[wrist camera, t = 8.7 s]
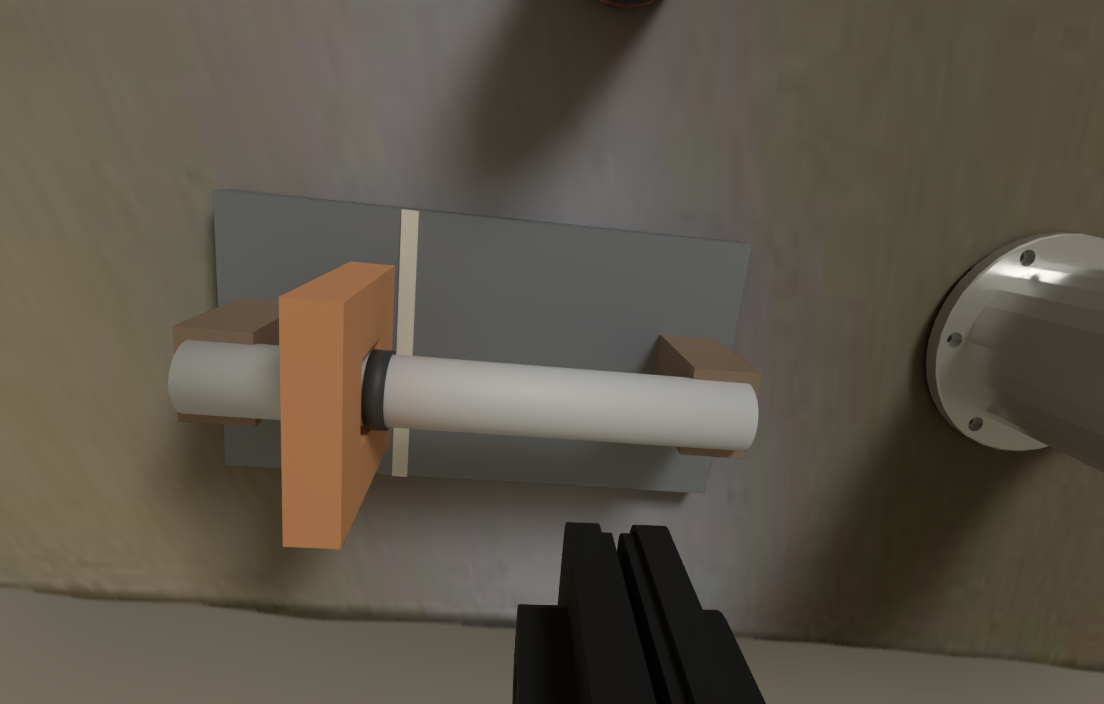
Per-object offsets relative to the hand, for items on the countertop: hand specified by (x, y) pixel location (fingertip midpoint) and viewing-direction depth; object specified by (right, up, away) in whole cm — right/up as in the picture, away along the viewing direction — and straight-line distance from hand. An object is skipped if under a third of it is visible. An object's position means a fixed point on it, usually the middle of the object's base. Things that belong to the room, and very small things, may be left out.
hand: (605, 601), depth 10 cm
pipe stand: (-5, +4, +22) cm, 23 cm away
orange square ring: (-10, +4, +19) cm, 21 cm away
